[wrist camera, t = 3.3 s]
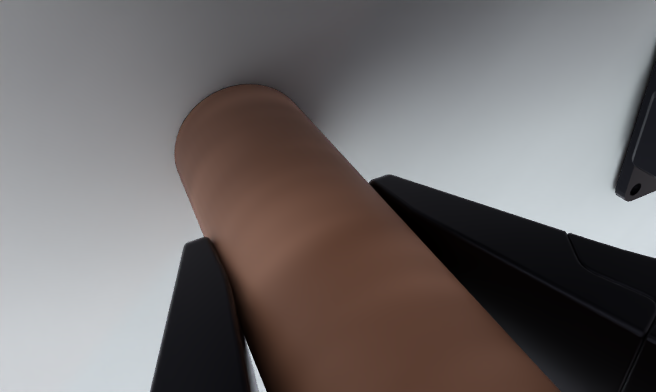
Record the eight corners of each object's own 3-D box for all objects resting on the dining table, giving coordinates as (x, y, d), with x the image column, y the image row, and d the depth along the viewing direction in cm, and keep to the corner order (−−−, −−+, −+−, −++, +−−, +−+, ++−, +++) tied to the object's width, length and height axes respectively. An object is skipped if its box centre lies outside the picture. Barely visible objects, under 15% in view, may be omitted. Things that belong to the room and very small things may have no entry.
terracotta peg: (297, 67, 11) (839, 575, 4) (314, 181, 13) (693, 671, 5) (155, 108, 10) (476, 876, 3) (195, 223, 12) (451, 866, 5)
